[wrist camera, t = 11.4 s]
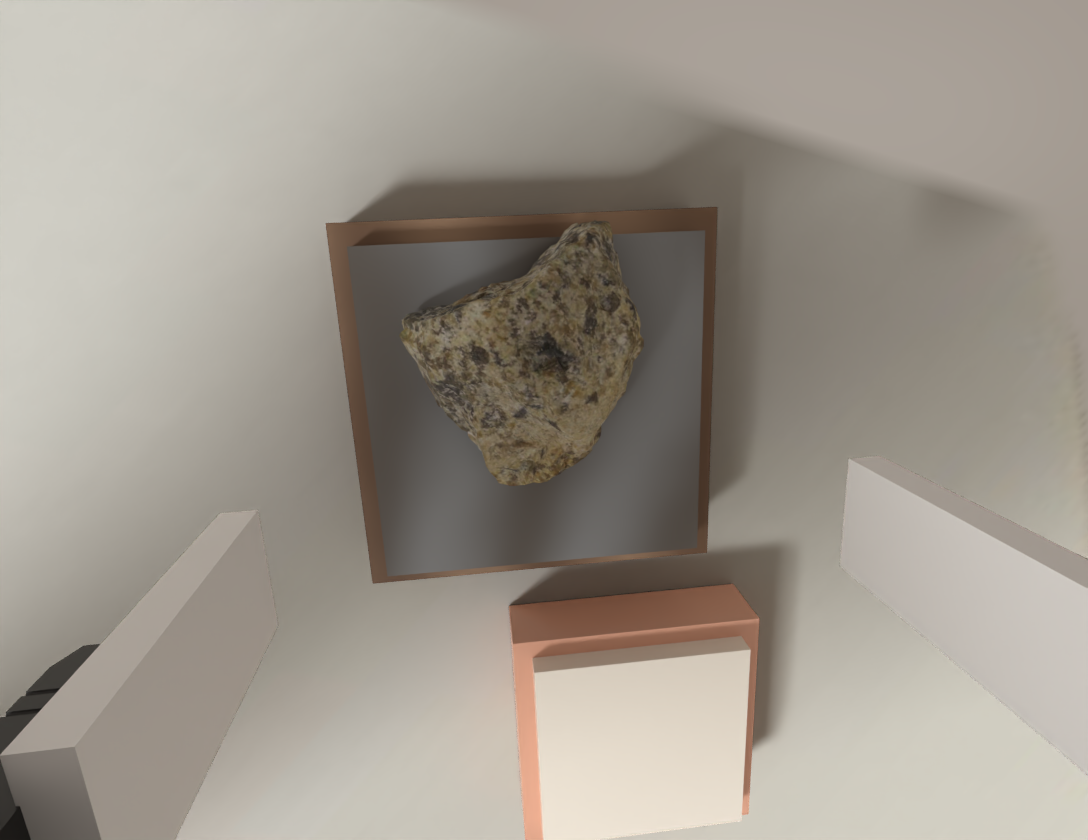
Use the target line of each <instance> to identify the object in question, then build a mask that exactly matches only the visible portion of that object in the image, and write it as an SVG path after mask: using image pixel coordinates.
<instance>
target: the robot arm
mask: <svg viewBox="0 0 1088 840" xmlns="http://www.w3.org/2000/svg"><path fill="white" fill-rule="evenodd" d="M839 566H840V567H841V568H842V569H843V570H844V571H846V572H847V573H848V574H849V575H850V576H852V577H853V578H854V579H855V580H856V581H858V582H859V583H860V584H861V585H862V586H863V587H865V588H866V589H867V590H868V591H869V592H871V593H872V594H873V595H874V596H875V597H876V598H878V599H879V600H880V601H881V602H882V603H884V604H885V605H886V606H887V607H888V608H890V609H891V610H892V611H893V612H894V613H895V614H897V615H898V616H899V617H900V618H901V619H903V620H904V621H905V622H906V623H907V624H908V625H910V626H911V627H912V628H913V629H914V630H916V631H917V632H918V633H919V634H920V635H922V636H923V637H924V638H925V639H926V640H927V641H929V642H930V643H931V644H932V645H933V646H935V647H936V648H937V649H938V650H939V651H940V652H942V653H943V654H944V655H945V656H946V657H948V658H949V659H950V660H951V661H952V662H954V663H955V664H956V665H957V666H958V667H959V668H961V669H962V670H963V671H964V672H965V673H967V674H968V675H969V676H970V677H971V678H972V679H974V680H975V681H976V682H977V683H978V684H980V685H981V686H982V687H983V688H984V689H985V690H987V691H988V692H989V693H990V694H991V695H993V696H994V697H995V698H996V699H997V700H999V701H1000V702H1001V703H1002V704H1003V705H1004V706H1006V707H1007V708H1008V709H1009V710H1010V711H1012V712H1013V713H1014V714H1015V715H1016V716H1017V717H1019V718H1020V719H1021V720H1022V721H1023V722H1025V723H1026V724H1027V725H1028V726H1029V727H1031V728H1032V729H1033V730H1034V731H1035V732H1036V733H1038V734H1039V735H1040V736H1041V737H1042V738H1044V739H1045V740H1046V741H1047V742H1048V743H1049V744H1051V745H1052V746H1053V747H1054V748H1055V749H1057V750H1058V751H1059V752H1060V753H1061V754H1063V755H1064V756H1065V757H1066V758H1067V759H1068V760H1070V761H1071V762H1072V763H1073V764H1074V765H1076V766H1077V767H1078V768H1079V769H1080V770H1081V771H1083V772H1084V773H1085V774H1086V775H1087V776H1088V559H1086V558H1084V557H1082V556H1080V555H1078V554H1076V553H1074V552H1072V551H1070V550H1068V549H1066V548H1064V547H1062V546H1060V545H1058V544H1056V543H1054V542H1052V541H1050V540H1048V539H1046V538H1044V537H1042V536H1040V535H1038V534H1036V533H1034V532H1032V531H1030V530H1028V529H1026V528H1024V527H1022V526H1020V525H1018V524H1016V523H1014V522H1012V521H1010V520H1008V519H1006V518H1004V517H1002V516H1000V515H998V514H996V513H994V512H991V511H989V510H987V509H985V508H983V507H981V506H979V505H977V504H975V503H973V502H971V501H969V500H967V499H965V498H963V497H961V496H959V495H957V494H955V493H953V492H951V491H949V490H947V489H945V488H943V487H941V486H939V485H937V484H935V483H933V482H931V481H929V480H927V479H925V478H923V477H921V476H919V475H917V474H915V473H913V472H911V471H909V470H907V469H905V468H903V467H901V466H899V465H897V464H895V463H893V462H891V461H889V460H887V459H885V458H883V457H881V456H871V457H860V458H849V461H848V473H847V484H846V496H845V507H844V519H843V530H842V542H841V554H840V565H839ZM277 628H278V620H277V614H276V609H275V603H274V597H273V592H272V586H271V580H270V575H269V569H268V563H267V557H266V552H265V546H264V540H263V535H262V529H261V523H260V518H259V512H258V510H249V511H237V512H226V513H219V514H218V516H217V517H216V518H215V519H214V520H213V521H212V522H211V523H210V524H209V525H208V527H207V528H206V529H205V530H204V531H203V532H202V533H201V534H200V535H199V536H198V538H197V539H196V540H195V541H194V542H193V543H192V544H191V545H190V546H189V547H188V549H187V550H186V551H185V552H184V553H183V554H182V555H181V556H180V557H179V558H178V560H177V561H176V562H175V563H174V564H173V565H172V566H171V567H170V568H169V569H168V571H167V572H166V573H165V574H164V575H163V576H162V577H161V578H160V579H159V580H158V582H157V583H156V584H155V585H154V586H153V587H152V588H151V589H150V590H149V591H148V593H147V594H146V595H145V596H144V597H143V598H142V599H141V600H140V601H139V602H138V604H137V605H136V606H135V607H134V608H133V609H132V610H131V611H130V612H129V613H128V615H127V616H126V617H125V618H124V619H123V620H122V621H121V622H120V623H119V625H118V626H117V627H116V628H115V629H114V630H113V631H112V632H111V633H110V634H109V636H108V637H107V638H106V639H105V640H104V641H103V642H102V643H101V644H96V645H86V646H83V647H81V648H79V649H78V650H76V651H75V652H73V653H72V654H70V655H69V656H67V657H65V658H64V659H62V660H61V661H59V662H58V663H56V664H55V665H53V666H52V667H50V668H49V669H48V670H47V671H46V672H45V673H44V674H43V675H42V676H41V677H40V678H39V679H38V680H37V681H36V682H35V683H34V684H33V685H32V686H31V687H30V688H29V689H28V690H27V691H26V696H23V697H21V698H20V699H19V700H18V701H17V702H16V703H15V704H14V705H13V706H12V707H11V708H10V709H9V710H8V711H7V712H6V717H1V718H0V840H175V839H176V836H177V834H178V832H179V830H180V828H181V826H182V824H183V822H184V820H185V818H186V816H187V814H188V812H189V810H190V807H191V805H192V803H193V801H194V799H195V797H196V795H197V793H198V791H199V789H200V787H201V785H202V783H203V781H204V779H205V776H206V774H207V772H208V770H209V768H210V766H211V764H212V762H213V760H214V758H215V756H216V754H217V752H218V750H219V748H220V745H221V743H222V741H223V739H224V737H225V735H226V733H227V731H228V729H229V727H230V725H231V723H232V721H233V719H234V716H235V714H236V712H237V710H238V708H239V706H240V704H241V702H242V700H243V698H244V696H245V694H246V692H247V690H248V688H249V685H250V683H251V681H252V679H253V677H254V675H255V673H256V671H257V669H258V667H259V665H260V663H261V661H262V659H263V656H264V654H265V652H266V650H267V648H268V646H269V644H270V642H271V640H272V638H273V636H274V634H275V632H276V630H277Z"/></svg>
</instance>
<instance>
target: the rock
mask: <svg viewBox="0 0 1088 840" xmlns="http://www.w3.org/2000/svg"><path fill="white" fill-rule="evenodd" d="M402 325H403V328H404V330H403V331H402V332H401V333H400V335H399V337H400V338H401V340H402V342H403V344H404V346H405V347H406V349H407V351H408V352H409V353H410V355H411V356H412V357H413V358H414V359H415V361H416V362H417V364H418V368H419V370H420V371H421V373H422V376H423V378H424V380H425V382H426V383H427V385H428V387H429V389H430V390H431V392H432V394H433V395H434V398H435V400H436V402H437V405H438V406H439V407H441V408H443V410H444V412H445V414H446V415H447V416H448V417H449V418H450V419H451V420H453V421H454V422H455V424H456V425H457V426H458V427H459V428H460V429H461V430H463V431H466V432H468V436H469V438H470V439H471V441H473V442H474V443H475V444H476V445H477V446H478V448H479V449H480V450H481V451H482V454H483V457H484V460H485V464H486V467H487V468H488V470H489V472H490V473H491V474H492V475H493V476H494V477H495V478H496V479H497V481H498V483H500V484H506V485H509V486H519V485H527V484H530V483H534V482H535V483H543V482H547V481H549V480H550V479H551V478H552V477H554V476H557V475H559V474H561V473H562V472H563V471H564V470H566V469H567V468H569V467H572V466H573V465H575V464H576V463H578V462H579V461H581V460H582V459H584V458H585V457H586V456H587V455H588V454H589V453H590V452H591V451H592V447H593V446H594V445H595V444H596V443H597V442H598V440H599V438H600V436H601V425H602V424H603V423H604V421H605V420H606V419H607V418H608V416H609V414H610V413H611V411H612V410H613V409H614V407H615V405H616V403H617V401H618V400H619V399H620V398H621V397H622V396H623V395H624V394H625V392H626V386H627V382H628V379H629V377H630V375H631V371H632V367H633V362H634V360H635V359H636V358H637V356H638V355H639V354H640V352H641V351H642V349H643V347H644V339H643V338H642V337H641V335H640V325H641V323H640V318H639V316H638V313H637V309H636V306H635V305H634V303H633V302H632V300H631V299H630V295H629V289H628V288H627V286H626V285H625V284H624V282H623V280H622V274H621V269H620V265H619V258H618V254H617V252H616V251H615V250H614V249H613V232H612V229H611V226H610V223H609V222H607V221H596V220H594V221H592V222H585V223H580V224H578V222H577V223H575V224H572V225H571V226H570V227H569V228H568V229H567V230H565V231H564V232H563V234H562V236H561V237H560V239H559V241H558V242H556V243H555V244H553V245H551V246H549V247H548V249H547V250H546V251H545V252H544V253H543V254H542V255H541V256H540V258H539V259H538V260H537V261H536V262H535V263H534V264H533V266H532V268H531V270H530V271H529V272H528V273H527V274H526V275H525V276H523V277H521V278H518V279H514V280H512V281H502V282H499V283H492V284H490V285H489V286H481V288H479V290H478V291H475V292H473V293H471V294H466V295H465V296H464V297H463V298H461V299H460V300H458V301H456V302H454V303H453V304H450V305H440V306H432V307H427V308H425V309H423V310H421V311H419V312H413V313H409V314H406V316H405V318H404V319H402Z"/></svg>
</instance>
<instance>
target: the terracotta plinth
mask: <svg viewBox="0 0 1088 840" xmlns="http://www.w3.org/2000/svg"><path fill="white" fill-rule="evenodd" d="M509 616H510V631H511V646H512V661H513V676H514V691H515V707H516V722H517V737H518V752H519V767H520V782H521V796H522V807H523V818H524V829H525V840H603V839H610V838H618V837H625V836H633V835H640V834H648V833H655V832H663V831H670V830H678V829H685V828H693V827H700V826H708V825H715V824H723V823H730V822H738V821H742V815H745V814H748V811H749V794H750V776H751V758H752V741H753V723H754V705H755V688H756V670H757V652H758V635H759V617H758V616H757V615H756V613H755V612H754V611H753V609H752V608H751V607H750V605H749V604H748V603H747V601H746V600H745V599H744V598H743V596H742V595H741V594H740V592H739V591H738V590H737V588H736V587H735V586H734V584H726V585H716V586H706V587H695V588H685V589H675V590H665V591H655V592H644V593H634V594H624V595H614V596H603V597H593V598H583V599H573V600H563V601H552V602H542V603H532V604H522V605H511V606H509Z"/></svg>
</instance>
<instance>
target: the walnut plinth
mask: <svg viewBox="0 0 1088 840" xmlns="http://www.w3.org/2000/svg"><path fill="white" fill-rule="evenodd" d="M594 220H596V221H607V222H609V223H610V226H611V229H612V232H613V249H614V250H615V251H616V252H617V254H618V258H619V265H620V269H621V274H622V280H623V282H624V284H625V285H626V286H627V288H628V289H629V295H630V299H631V300H632V302H633V303H634V305H635V306H636V309H637V313H638V316H639V318H640V323H641V325H640V335H641V337H642V338H643V339H644V347H643V349H642V351H641V352H640V354H639V355H638V356H637V358H636V359H635V360H634V362H633V367H632V371H631V375H630V377H629V379H628V382H627V386H626V392H625V394H624V395H623V396H622V397H621V398H620V399H619V400H618V401H617V403H616V405H615V407H614V409H613V410H612V411H611V413H610V414H609V416H608V418H607V419H606V420H605V421H604V423H603V424H602V425H601V436H600V438H599V440H598V442H597V443H596V444H595V445H594V446H593V447H592V451H591V452H590V453H589V454H588V455H587V456H586V457H585V458H584V459H582V460H581V461H579V462H578V463H576V464H575V465H573V466H572V467H569V468H567V469H566V470H564V471H563V472H562V473H561V474H559V475H557V476H554V477H552V478H551V479H550V480H549V481H547V482H543V483H535V482H534V483H530V484H527V485H519V486H509V485H506V484H500V483H498V481H497V479H496V478H495V477H494V476H493V475H492V474H491V473H490V472H489V470H488V468H487V467H486V464H485V460H484V457H483V454H482V451H481V450H480V449H479V448H478V446H477V445H476V444H475V443H474V442H473V441H471V439H470V438H469V436H468V432H466V431H463V430H461V429H460V428H459V427H458V426H457V425H456V424H455V422H454V421H453V420H451V419H450V418H449V417H448V416H447V415H446V414H445V412H444V410H443V408H441V407H439V406H438V405H437V402H436V400H435V398H434V395H433V394H432V392H431V390H430V389H429V387H428V385H427V383H426V382H425V380H424V378H423V376H422V373H421V371H420V370H419V368H418V364H417V362H416V361H415V359H414V358H413V357H412V356H411V355H410V353H409V352H408V351H407V349H406V347H405V346H404V344H403V342H402V340H401V338H400V337H399V335H400V333H401V332H402V331H403V330H404V328H403V325H402V319H404V318H405V316H406V314H409V313H413V312H419V311H421V310H423V309H425V308H427V307H432V306H440V305H450V304H453V303H454V302H456V301H458V300H460V299H461V298H463V297H464V296H465V295H466V294H471V293H473V292H475V291H478V290H479V288H481V286H489V285H490V284H492V283H499V282H502V281H512V280H514V279H518V278H521V277H523V276H525V275H526V274H527V273H528V272H529V271H530V270H531V268H532V266H533V264H534V263H535V262H536V261H537V260H538V259H539V258H540V256H541V255H542V254H543V253H544V252H545V251H546V250H547V249H548V247H549V246H551V245H553V244H555V243H556V242H558V241H559V239H560V237H561V236H562V234H563V232H564V231H565V230H567V229H568V228H569V227H570V226H571V225H572V224H575V223H577V222H578V224H580V223H585V222H592V221H594ZM326 230H327V238H328V245H329V253H330V261H331V268H332V276H333V284H334V291H335V299H336V307H337V314H338V322H339V329H340V337H341V345H342V352H343V360H344V368H345V375H346V383H347V391H348V398H349V406H350V413H351V421H352V429H353V436H354V444H355V452H356V459H357V467H358V475H359V482H360V490H361V497H362V505H363V513H364V520H365V528H366V536H367V543H368V551H369V559H370V566H371V574H372V581H373V583H383V582H394V581H405V580H416V579H426V578H437V577H448V576H459V575H470V574H480V573H491V572H502V571H513V570H523V569H534V568H545V567H556V566H567V565H577V564H588V563H599V562H610V561H620V560H631V559H642V558H653V557H664V556H674V555H685V554H696V553H707V538H708V504H709V471H710V438H711V404H712V371H713V337H714V304H715V271H716V237H717V207H706V208H681V209H657V210H633V211H609V212H585V213H561V214H537V215H513V216H489V217H465V218H441V219H417V220H393V221H369V222H345V223H326Z"/></svg>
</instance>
